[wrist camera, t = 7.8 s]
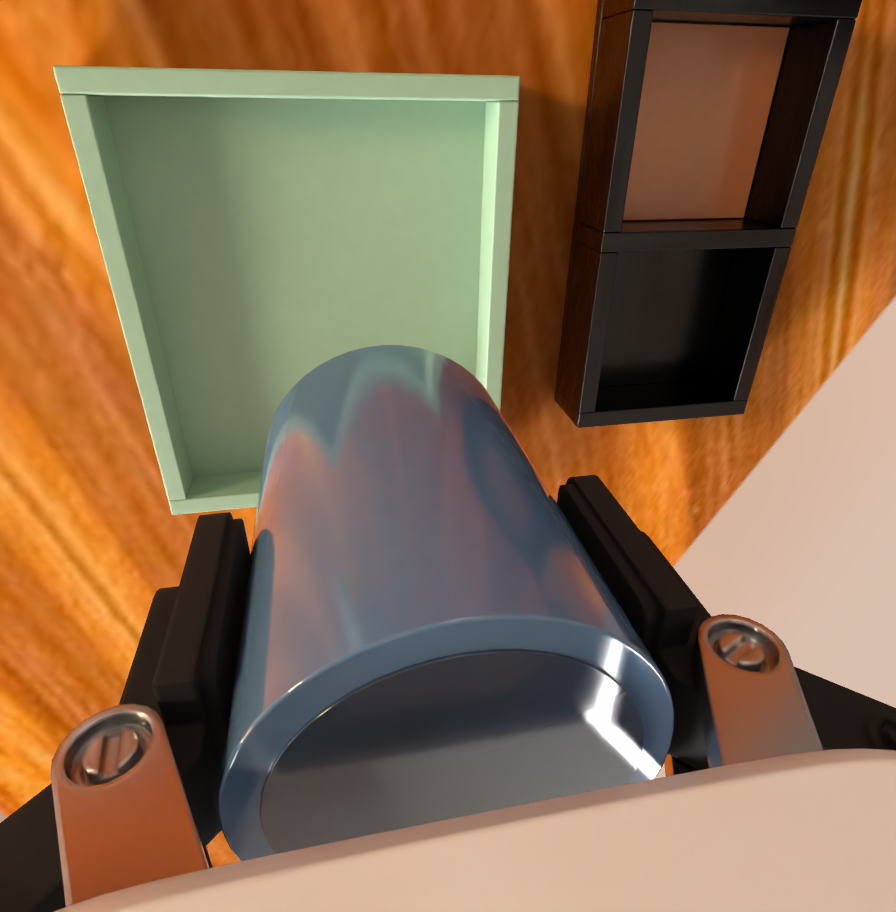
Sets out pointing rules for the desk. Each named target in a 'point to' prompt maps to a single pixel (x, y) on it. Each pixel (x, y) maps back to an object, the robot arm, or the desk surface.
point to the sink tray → (289, 238)
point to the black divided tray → (690, 198)
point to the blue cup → (419, 621)
